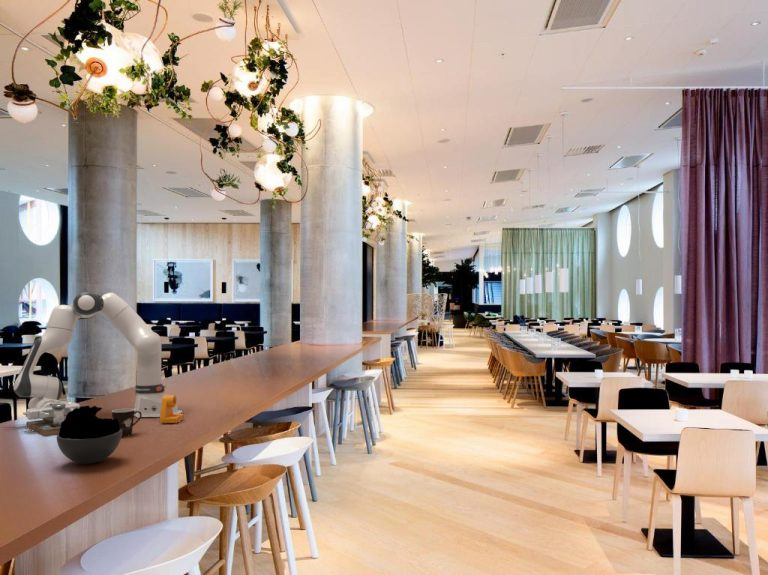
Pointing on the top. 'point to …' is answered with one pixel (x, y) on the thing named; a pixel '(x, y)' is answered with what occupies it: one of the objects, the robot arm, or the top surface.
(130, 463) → the top surface
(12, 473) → the top surface
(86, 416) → the bowl of black rocks
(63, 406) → the glass spice jar
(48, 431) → the hole board
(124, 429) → the coffee mug
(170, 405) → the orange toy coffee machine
